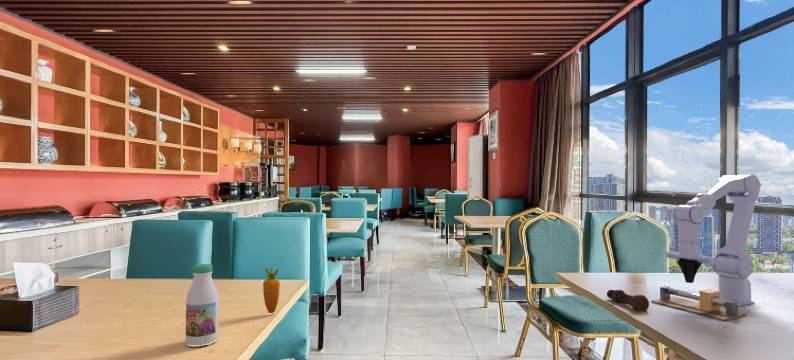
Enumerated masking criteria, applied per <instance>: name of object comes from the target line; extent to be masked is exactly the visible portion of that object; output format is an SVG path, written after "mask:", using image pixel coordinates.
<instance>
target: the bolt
mask: <svg viewBox="0 0 794 360" xmlns="http://www.w3.org/2000/svg"><path fill="white" fill-rule="evenodd" d="M606 296H607V298H608V299H611V300H612V301H613V302H614V303H616V304H625V305H628V306H631V307H632V309H633V311H634V312H638V313H643V312H644V313H645V312H646V311H647V310H649V307H650V306H649V305H650V301H649V299H648V297H646V295H644V294H637V295H630V294H627V293H625V291H624V290H623V289H609V290H607V292H606Z"/></svg>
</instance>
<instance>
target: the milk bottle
mask: <svg viewBox="0 0 794 360" xmlns="http://www.w3.org/2000/svg"><path fill="white" fill-rule="evenodd" d="M212 274H213V265H212V264H209V263H205V264H204V263H203V264H196V265H193V267H192V275H193V280H192V283H191V285H190V288H189V290H188V291H187V295H186V301H185V303H186V304H185V344H186V343H187V344H189V345H203V344H207V343H210V342H212V341H214V340H216V339H217V338H218V337H219V325H220V323H219V322H220V321H219V319H220V316H219V309H220V307H219V304H220V303H219V302H220V301H219V293H218V289H217V288H216V285H215V283H214V281H213V277H212ZM218 339H219V338H218ZM187 344H186V345H187Z"/></svg>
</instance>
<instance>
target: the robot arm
mask: <svg viewBox="0 0 794 360" xmlns="http://www.w3.org/2000/svg"><path fill="white" fill-rule="evenodd" d="M761 187H762V183H761V181H760V179H759V177H758V176H757V175H755V174H753V173H751V174H737V175H735V174H734V175H733V174H732V175H731V174H730V175H729V174H725V175H724V174H723V175H722V176H721V177H719V178H718V179H717V183H716V184H715V185H714V186H713V187H711V188H710V190H708V191H707V192H702V193H701V192H699V193H697V194H696V195H695V197H693V198H691V200H688V201H687V202H686V203H685V204H679V205H678V206H677V207H676V208H675V209H674V212H673V219H674V221H675V224H676V226H677V228H678V229H677V230H678V231H677V233H678V234H677V235H678V236H677V237H678V238H677V239H678V240H677V241H678V252H677V251H670V250H668V251H665V252H664V253H665V254H664V257H665V258H667V259H669V258H670V259H675V260H676V259H678V260H676V263H677V265H678V266H679V268H680V269H681V272H682V274H683V276H684V281H685V283H688V284H693V283H694V281H695V278H696V275H697V272H698V271H699V269H700V267H701V266H702V264H708V265H711V266H712V269H713V271H715V272H716V275H717V276H718V291H720V296H721V299H722V300H727V301H731V300H732V301H737V302H738V307H741V306H747V305H750V304H751V305H752V304H754V303H755V301H754V300H752V283H751V280H750V279H749V277H750V276H751V275H752V273H753V271H754V269H753V268H754V266H753V256H752V255H751V254H749V252H748V251H747V250H746V246H747V243H748V237H749V233H750V228H751V225H752V220H753V215H754V212H755V206H756V202H757V201H758V199H759V196H760V195H759V194H760V191H761ZM724 196H725V197H727V198H728V199H729V200H730V201H732V202H733V203H734V207H733V212H732V216H731V220H730V225H729V228H728V234H727V237H726V238H727V239H726V243H725V246H723V247H721V248H719V249H717V251H716V254H715V256H714V257H711V256H707V255H701V252H700V251H701V250H700V249H701V247H700V243H701V242H700V223H701V222H702V221H704V217H705V215H706V213H707V212H709V211H710V210H712V209H713V208H715V206H716V202H717V200H719V199H721V198H722V197H724Z"/></svg>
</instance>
